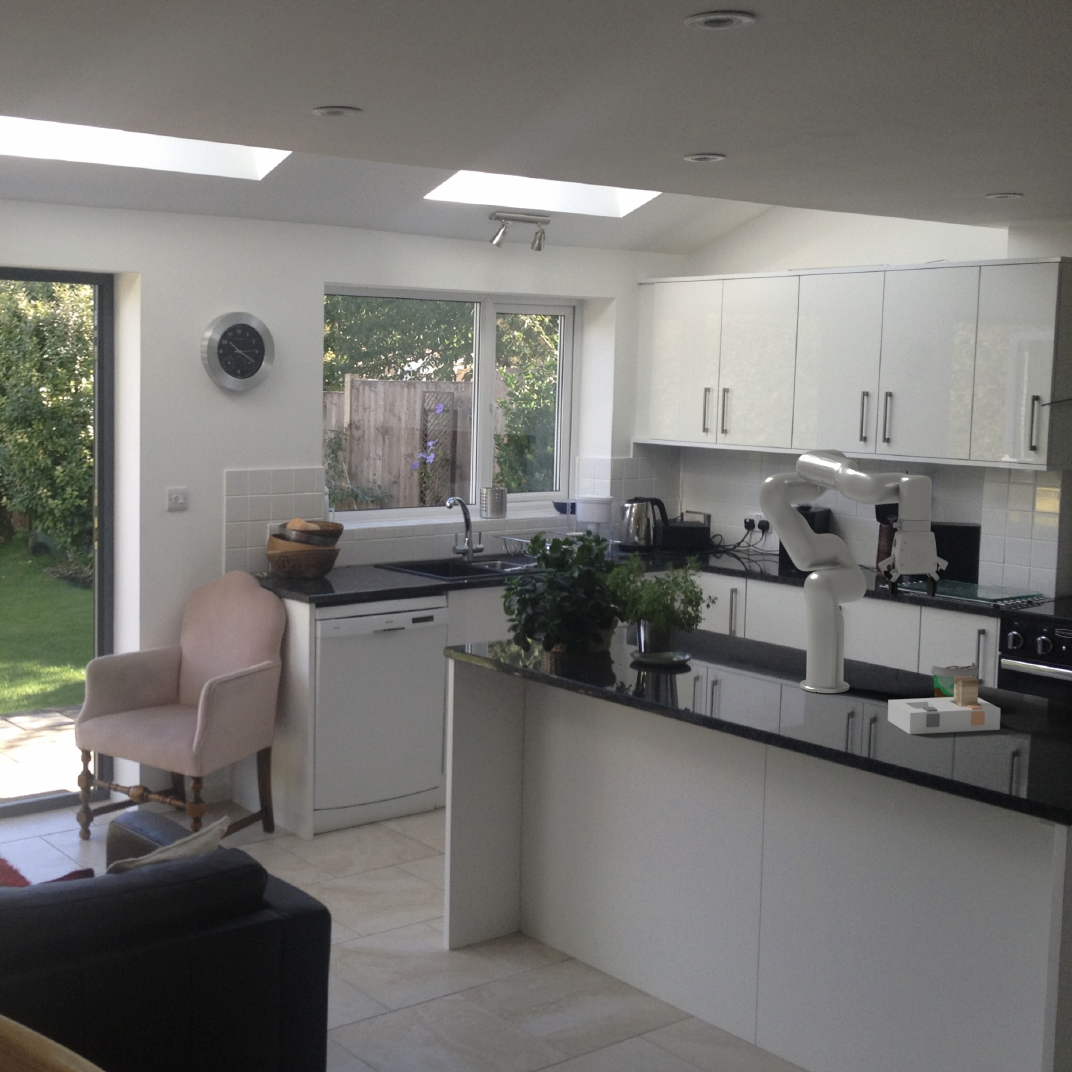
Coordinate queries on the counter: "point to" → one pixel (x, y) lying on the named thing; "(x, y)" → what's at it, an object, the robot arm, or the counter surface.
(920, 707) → the socket block
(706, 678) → the counter surface
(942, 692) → the food container
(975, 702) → the plug
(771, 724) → the counter surface
